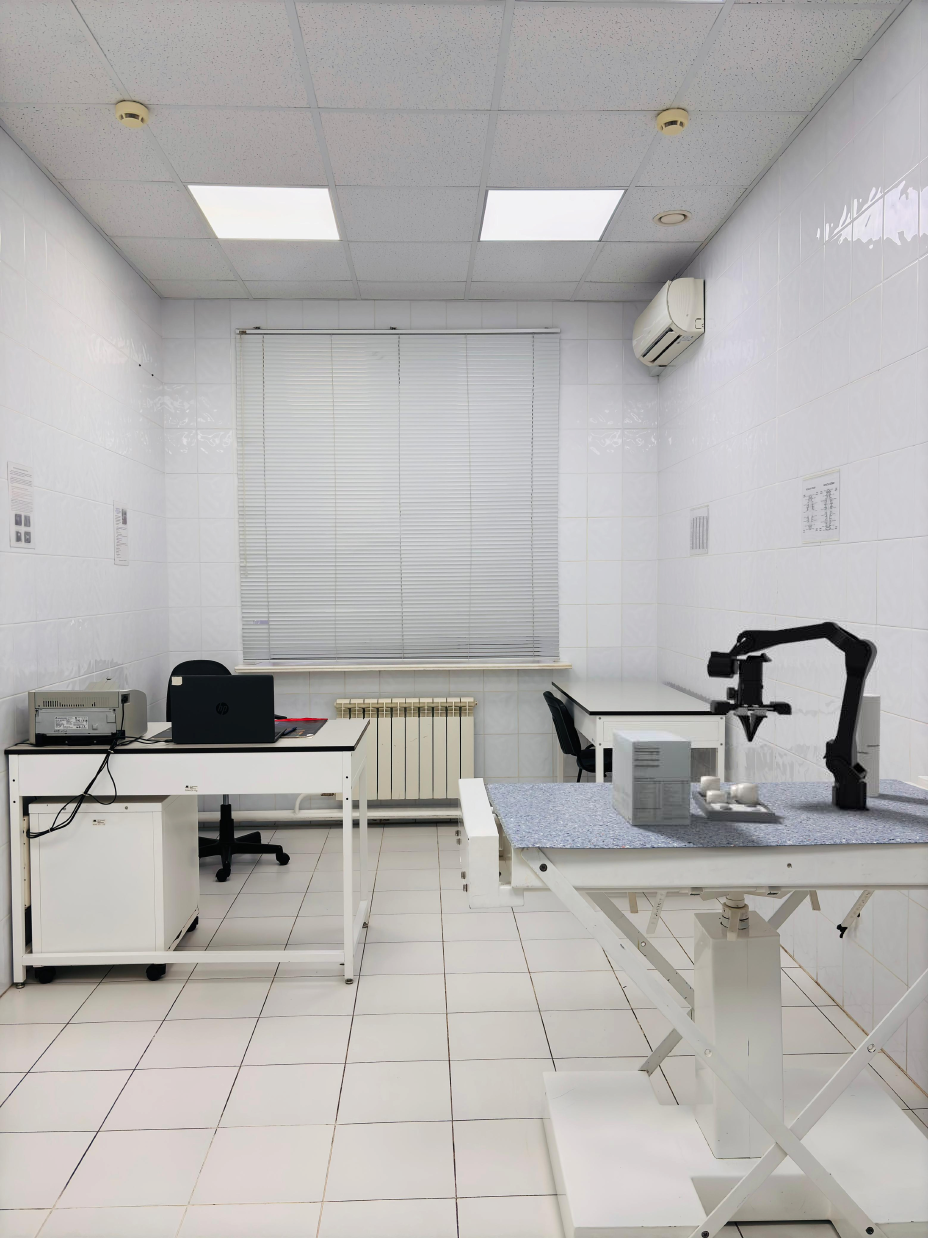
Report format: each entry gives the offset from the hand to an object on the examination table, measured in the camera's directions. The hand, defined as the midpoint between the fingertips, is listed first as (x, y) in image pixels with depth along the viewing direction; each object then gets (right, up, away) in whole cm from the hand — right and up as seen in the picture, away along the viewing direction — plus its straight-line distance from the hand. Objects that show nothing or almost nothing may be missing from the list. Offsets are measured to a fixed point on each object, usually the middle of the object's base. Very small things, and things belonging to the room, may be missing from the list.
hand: (749, 741), depth 203 cm
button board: (-10, -13, -17) cm, 24 cm away
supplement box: (-30, -13, -23) cm, 40 cm away
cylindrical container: (+29, -14, +1) cm, 32 cm away
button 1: (-13, -11, -11) cm, 20 cm away
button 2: (-14, -13, -18) cm, 26 cm away
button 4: (-7, -11, -18) cm, 22 cm away
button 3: (-6, -13, -11) cm, 18 cm away
